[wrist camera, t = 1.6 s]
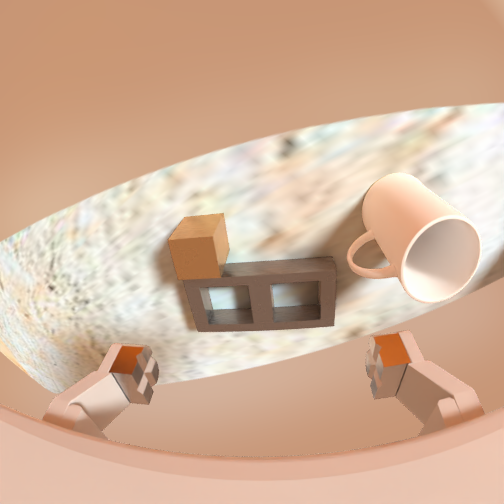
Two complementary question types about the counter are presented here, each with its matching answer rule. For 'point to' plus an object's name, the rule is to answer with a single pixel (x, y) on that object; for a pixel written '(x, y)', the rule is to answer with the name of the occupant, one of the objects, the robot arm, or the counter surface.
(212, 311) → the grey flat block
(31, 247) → the counter surface
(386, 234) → the mug
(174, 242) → the wooden toy block
